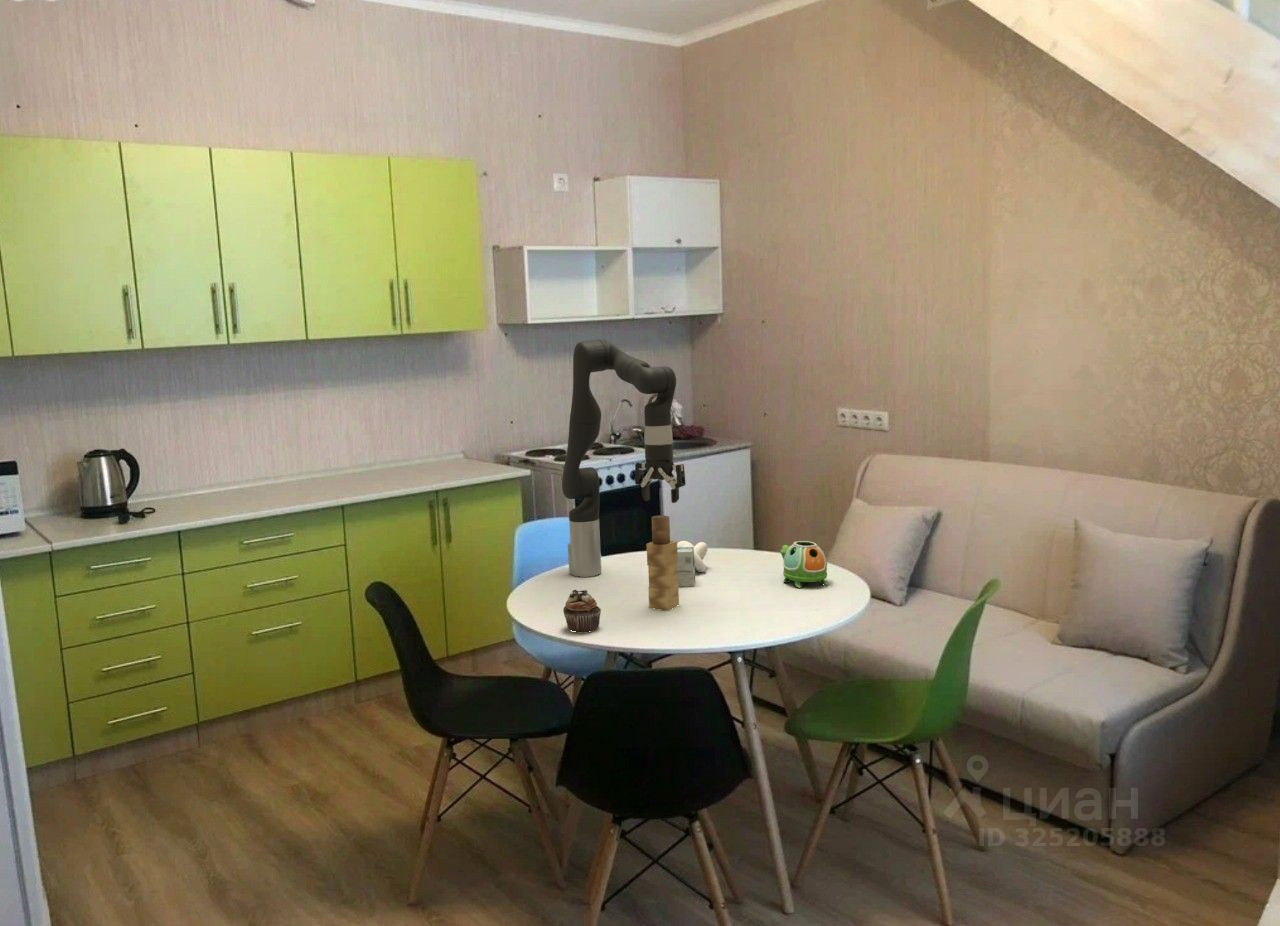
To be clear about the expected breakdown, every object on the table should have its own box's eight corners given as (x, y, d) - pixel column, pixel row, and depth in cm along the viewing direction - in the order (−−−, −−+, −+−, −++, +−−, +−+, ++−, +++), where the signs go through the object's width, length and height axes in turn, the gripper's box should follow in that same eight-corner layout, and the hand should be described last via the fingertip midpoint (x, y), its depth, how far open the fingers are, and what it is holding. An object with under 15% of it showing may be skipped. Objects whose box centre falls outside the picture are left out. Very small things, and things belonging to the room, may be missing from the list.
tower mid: (649, 587, 278) (648, 566, 278) (657, 582, 284) (656, 560, 283) (669, 589, 276) (668, 567, 275) (677, 583, 282) (676, 562, 281)
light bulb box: (695, 581, 306) (694, 545, 305) (694, 587, 300) (693, 551, 298) (659, 581, 308) (658, 546, 306) (658, 587, 301) (656, 551, 299)
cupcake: (602, 633, 260) (600, 594, 259) (564, 635, 259) (562, 597, 258) (601, 621, 270) (599, 584, 268) (564, 624, 269) (562, 587, 267)
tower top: (647, 565, 278) (646, 543, 278) (659, 560, 283) (658, 539, 282) (665, 567, 275) (665, 545, 274) (677, 562, 280) (677, 541, 279)
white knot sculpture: (667, 575, 314) (666, 547, 313) (674, 566, 325) (673, 538, 324) (703, 576, 311) (702, 547, 310) (709, 566, 323) (708, 538, 322)
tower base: (649, 608, 280) (648, 587, 279) (660, 602, 285) (659, 581, 284) (668, 611, 277) (667, 589, 276) (679, 605, 282) (678, 584, 281)
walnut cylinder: (649, 543, 278) (648, 518, 277) (658, 540, 282) (657, 515, 281) (664, 545, 275) (663, 519, 274) (673, 541, 279) (672, 516, 278)
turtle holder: (802, 572, 312) (801, 533, 310) (836, 585, 295) (835, 545, 294) (767, 577, 307) (766, 538, 305) (799, 591, 291) (798, 550, 289)
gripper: (628, 442, 275) (630, 502, 277) (675, 444, 267) (677, 505, 270) (642, 439, 281) (644, 497, 283) (688, 440, 274) (690, 500, 276)
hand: (660, 501), depth 277 cm, fingers open, 8 cm apart
